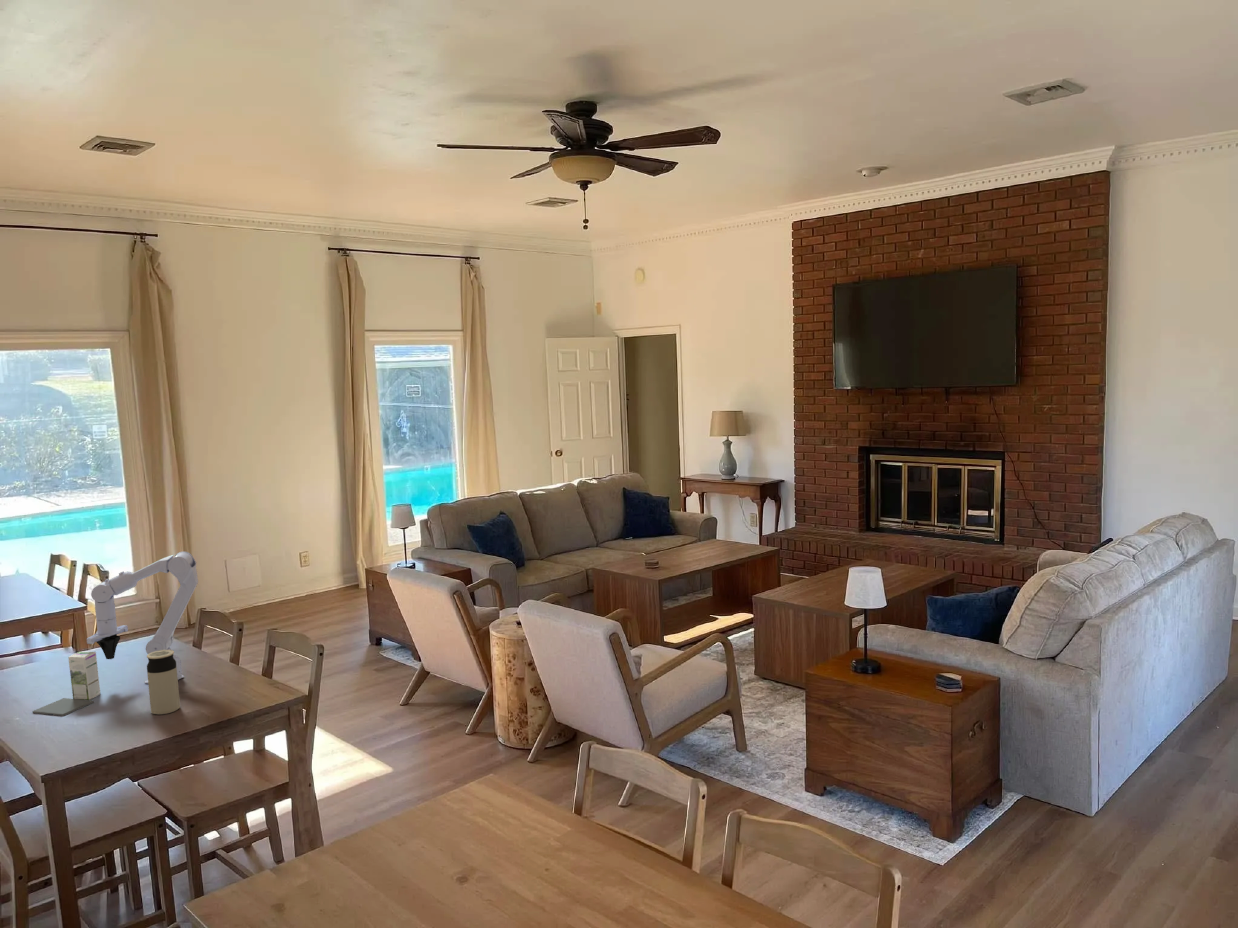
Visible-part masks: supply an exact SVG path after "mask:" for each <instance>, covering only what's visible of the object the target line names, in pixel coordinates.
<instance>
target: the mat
mask: <svg viewBox="0 0 1238 928" xmlns="http://www.w3.org/2000/svg"><path fill="white" fill-rule="evenodd" d="M94 703H95V702H94V700H91V699H90V700H79V699H73V698H67V697H63V698H61V699H59V700H55V701H54V702H51V703H49V704H46V705H43V706H42V707H39V708H36V709H34V710H32V714H38V713H39V714H40V713H41V714H40V715H48V714H53V715H52V716H57V715H58V717H64V716H66V714H67V715H70V714H71V713H73V711H74V712H75V711H76V712H77V711H78V710H80V709H82V708H84V707H87V706H89V705H92V704H94ZM39 714H38V715H39Z"/></svg>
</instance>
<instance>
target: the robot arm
mask: <svg viewBox="0 0 1238 928" xmlns="http://www.w3.org/2000/svg"><path fill="white" fill-rule="evenodd" d="M197 570H198V569H197V561H196V560H195V558H194V557H193V555H192V554H191V553H190V552H188V551H180V552H177V553H176V554H172V555H168V556H165V557H163V558H161V559H158V560H157V561H155V562H153V563H151V564H149V565H146V566H144V567H142V568H141V569H138V570H136V571H134V572H132V571H121V572H119V573H118V575H116V576H114V577H112V578H110V579H109V578H106V579H105V580H104V581H102V582H100V583H99V584H97V585H96V586H94V587H93V589H92V591H91V593H90V595H91V598H92V600H93V601H94V611H95V622H96V629H97V630H96V632H95V633H94V634H93V635H91V636H89V637H87V638H86V644H87V645H94V644H95V643H96V644H98V646H99V647H100V649H101V650H102V651H103V654H104V657H105V659H106V660H113V659H115V655H116V651H117V646H118V645H119V642H120V640H121V636H120V635H119V634H122V633H124V632H125V633H126V632H129V627H128V625H127V624H125V625H124V624H123V625H119V626H118V622H117V612H116V604H115V597H114V596H118V595H120V594H122V593H125V592H126V591H129V590H131V589H133V588H136V587H137V584H138V582H140V581H141V580H143V579H146V578H148V577H150V576H154V575H155V574H156V575H157V573H165V574H169V573H170V574H172V575H173V576H174V577H175V578H176V579H177V581H178V583H179V585H180V586H179V588H178V590H177V592H176V594H175V596H174V597H173V599H172V601H171V603H170V606H169V607H168V610H167V611H166V614H165V615H164V617H163V620H162V622H161V624H160V625H159V626H158V627H159V628H158V629H157V631H156V632H155V633H154V636H153V637H152V638H151V639H150V640H149V641H148V642H147V643H146V645H145V652H146V653H147V655H148V654H149V653H152V652H155V651H159V650H172V649H171V646H172V644H173V636H174V634H175V630H176V628H177V626H178V624H179V621H180V620H181V618H182V616H183V614H184V612H185V610H186V608H187V606H188V604H189V602H190V600H191V598H192V596H193V594H194V592H195V590H196V587H197V585H199V584H198V583H199V576H198V571H197ZM173 658H174V659H175V661H176V667H177V678H178V681H179V680H180V679H182V678H185V675H183V669H182V660H181V658H180V656H178V655H175V653H174V654H173ZM144 684H148V679H147V680H145V681H144Z"/></svg>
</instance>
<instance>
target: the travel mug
mask: <svg viewBox="0 0 1238 928" xmlns="http://www.w3.org/2000/svg"><path fill="white" fill-rule="evenodd" d="M173 654H174V655H175V651H174V650H173V649H171V650H159V651H155V652H152V653H149V654H147V655H146V658H147V659H148V663H147V664H146V673H147V680H148V683H147V684H148V692H149V693H148V694H149V706H150V712H151V714H153V715H159V716H161V715H166V714H167V715H168V714H171V713H174V712H176V711H178V709H180V708H181V703H180V700H181V699H180V692H179V682H178V681H179V680H178V678H177V667H176V661H175V659H174V658H173Z"/></svg>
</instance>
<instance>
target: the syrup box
mask: <svg viewBox="0 0 1238 928" xmlns="http://www.w3.org/2000/svg"><path fill="white" fill-rule="evenodd" d="M97 659H98V658H97V652H96V651H78V652H75V653H74V654H73V653H72V654H71V655H70V656H68V665H69V666H68V667H69V673H70V674H69V675H70V682H71V683H70V684H71V693H72V699H79V700H90V701H91V700H93V699H94V698H95V697H98V696H100V695H101V687H100V677H99V670H98V669H99V668H98V660H97Z"/></svg>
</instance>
